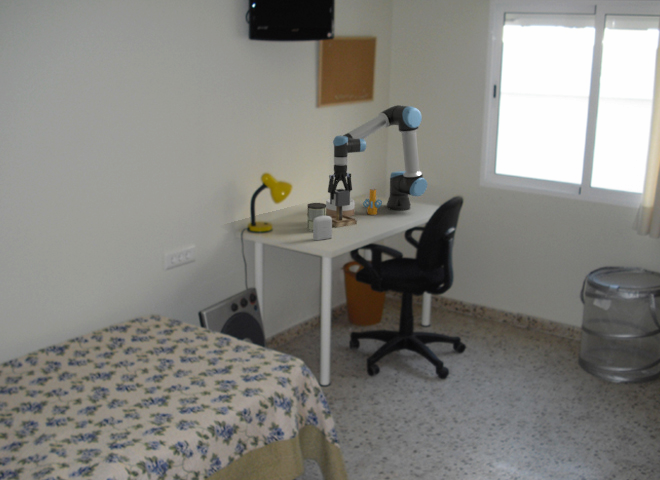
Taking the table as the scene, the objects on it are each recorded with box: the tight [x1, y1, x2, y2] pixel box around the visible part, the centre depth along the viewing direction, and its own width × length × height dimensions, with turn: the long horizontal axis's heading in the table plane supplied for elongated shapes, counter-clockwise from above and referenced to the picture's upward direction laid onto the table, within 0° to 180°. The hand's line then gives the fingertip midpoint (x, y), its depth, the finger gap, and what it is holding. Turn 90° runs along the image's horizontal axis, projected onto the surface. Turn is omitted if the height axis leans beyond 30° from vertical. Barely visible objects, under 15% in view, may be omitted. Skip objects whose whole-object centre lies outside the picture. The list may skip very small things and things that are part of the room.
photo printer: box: [312, 215, 333, 241], centre depth 352 cm, size 10×4×12 cm, turn 118°
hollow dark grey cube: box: [329, 188, 351, 207], centre depth 381 cm, size 8×8×8 cm
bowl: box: [325, 197, 356, 217], centre depth 407 cm, size 17×17×8 cm
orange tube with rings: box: [362, 188, 383, 216], centre depth 406 cm, size 12×10×15 cm
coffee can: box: [306, 202, 327, 233], centre depth 369 cm, size 10×10×14 cm
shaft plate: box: [330, 206, 358, 228], centre depth 384 cm, size 14×14×10 cm
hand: (339, 203), depth 383 cm, fingers closed on hollow dark grey cube, 8 cm apart
